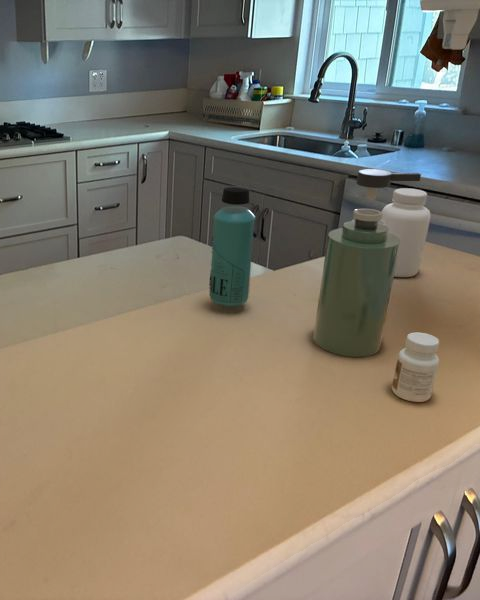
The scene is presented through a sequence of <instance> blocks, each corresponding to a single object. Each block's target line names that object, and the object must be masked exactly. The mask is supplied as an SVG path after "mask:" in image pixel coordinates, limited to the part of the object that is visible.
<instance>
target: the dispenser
mask: <svg viewBox="0 0 480 600" xmlns="http://www.w3.org/2000/svg"><path fill="white" fill-rule="evenodd" d="M382 217H383V213H382V210H377V209H373V208H356V209H354V210H353V212H352V218H353V219H355V221H352V220H349V221H346V222H344V223H343V225H342V227H340V228H334V229H332V230H331V231H329V232H328V234H327V241H326V247H325V255H324V261H323V269H322V276H321V281H320V289H319V295H318V302H317V308H316V315H315V321H314V322H315V323H314V329H313V337H312V338H313V341H314V343H315V344H316V345H317V346H318V347H319V348H321V349H322V350H325V351H327V352H328V353H331V354H335V355H338V356H342V357H351V358H363V357H370V356H373V355H375V354H377V353H378V352H379V351H380V349H381V345H382V339H383V334H384V329H385V324H386V320H387V315H388V309H389V304H390V299H391V294H392V289H393V283H394V279H395V277H394V274H395V269H396V264H397V259H398V254H399V249H400V243H401V240H400V239H399V238H398V237H397V236H395V235H393V234H391V233H388V230H389V228H388V227H387V226H385V225H383V224H380V223H378V221H380V220H382Z"/></svg>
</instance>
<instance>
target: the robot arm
mask: <svg viewBox="0 0 480 600" xmlns="http://www.w3.org/2000/svg"><path fill="white" fill-rule="evenodd" d="M419 5H420V6H419V7H420V10H421V11H422V12H423V13H434V12H443V17H442V26H443V39H442V46H441V47H442V49H444V50H464V49H465V48H466V47H467V43H468V38H469V35H470V33H471V31H472V29H473V27H474V26H475V24H476V22H477V20H478V17H479V16H478V15H479V10H480V0H419Z"/></svg>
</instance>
